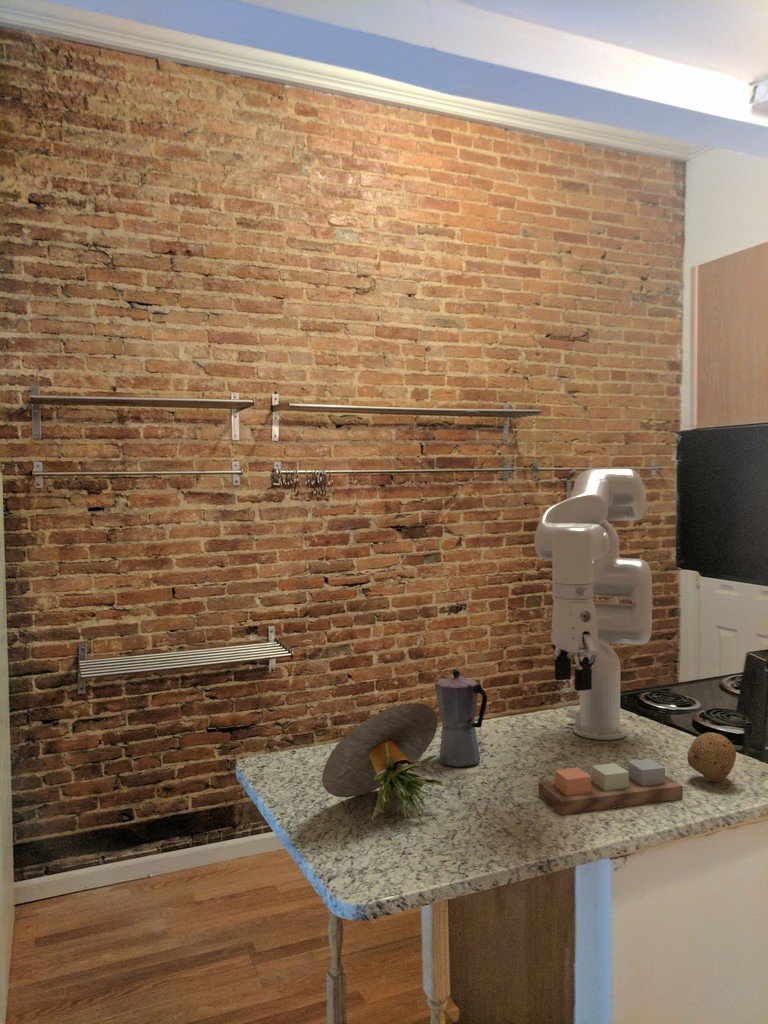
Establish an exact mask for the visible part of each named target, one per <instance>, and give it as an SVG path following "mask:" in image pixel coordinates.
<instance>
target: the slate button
mask: <svg viewBox="0 0 768 1024" xmlns="http://www.w3.org/2000/svg"><path fill="white" fill-rule="evenodd" d="M627 771H628V772H629V778H630V779H631V780H633V781H634V782H636V783H637V784H639V785H640V786H649V785H657V784H665V776H666V767H664V766H663V765H662V764H659V763H658V762H656V761H654V760H652V758H647V759H645V758H644V759H637V760H629V761H627Z"/></svg>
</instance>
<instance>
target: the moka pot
mask: <svg viewBox="0 0 768 1024" xmlns="http://www.w3.org/2000/svg"><path fill="white" fill-rule="evenodd" d="M452 674H453V677H449V678H438V679H436V680H434V682H435V683H434V688H435V694H436V700H437V707H438V713H439V717H440V718H441V725H442V727H441V738H440V748H439V761H440V763H441V764H442V765H444V766H445V765H446V766H449V767H470V766H475V765H477V764H478V763H479V762H480V761H481V756H480V749H479V744H478V737H477V731H476V728H482V726H483V720H484V715H485V711H486V708H487V704H488V696H487V693H486V691H485V690H484V689H483V687H482V684H481V683H480V684H479V682H477V681H475V680H473V679H469V678H463V677H460V671H459V670H457V669H455V670H453V671H452ZM479 694H480V695H481V696H482V699H481V703H480V708H479V712H478V715H479V716H478V719H477V722H475V717H476V716H477V709H478V708H477V705H478V696H479Z"/></svg>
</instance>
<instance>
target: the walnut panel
mask: <svg viewBox="0 0 768 1024" xmlns="http://www.w3.org/2000/svg"><path fill="white" fill-rule="evenodd" d="M590 776H591V793H587V794H579V795H572V796H566V795H565V794H563V793H562V792H561V791H560V790H558V789H557V788H556V787H555V779H554V780H553V779H552V780H546V781H538V796H540V798H542V799H543V800H544V801H545V802H546V803H547V804H549V805H550V806H551V807H552V808H553V809H554V810H556V811H557V812H558V813H559V814H560V815H562V816H565V815H571V814H578V813H579V814H580V813H586V812H587V811H588V812H592V811H591V810H595V811H601V810H600V809H602V810H608V809H607V808H610V809H614V808H613V807H617V808H620V807H619V806H625V807H630V806H629V805H632V806H638V805H637V804H639V805H645V804H646V803H647V804H653V803H652V802H654V803H660V802H661V801H662V802H667V801H666V800H669V801H675V800H674V799H676V800H682V799H681V798H683V795H684V794H683V789H684V788H683V785H682V784H680V783H678V782H677V781H675V780H673V779H672V778H670V777H669V776H667V775H665V784H657V785H649V786H640V785H639V784H637V783H636V782H634V781H633V780H631V779H630V778H629V788H626V789H618V790H610V791H604V790H602V789H601V788H600V787H598V786H597V785H595V784H594V783H593V782H592V775H590ZM647 804H646V805H647Z"/></svg>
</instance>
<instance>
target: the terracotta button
mask: <svg viewBox="0 0 768 1024" xmlns="http://www.w3.org/2000/svg"><path fill="white" fill-rule="evenodd" d="M591 776H592V775H589V774H588V773H587V772H585V771H584V770H582V769H581V768H580V767H569V768H562V769H560V768H559V769H555V770H554V780H555V787H556V788H557V789H558V790H560V791H561V792H562V793H563V794H565V795H566V796H572V795H579V794H587V793H591Z"/></svg>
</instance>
